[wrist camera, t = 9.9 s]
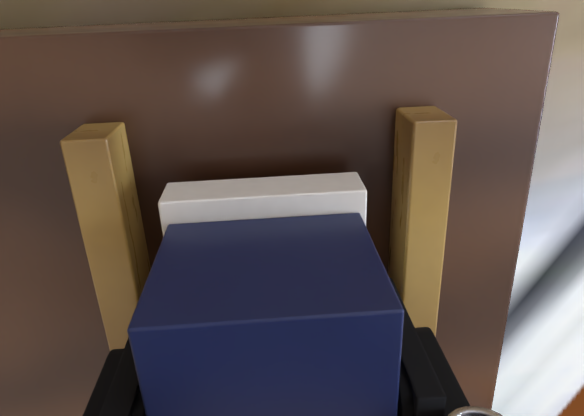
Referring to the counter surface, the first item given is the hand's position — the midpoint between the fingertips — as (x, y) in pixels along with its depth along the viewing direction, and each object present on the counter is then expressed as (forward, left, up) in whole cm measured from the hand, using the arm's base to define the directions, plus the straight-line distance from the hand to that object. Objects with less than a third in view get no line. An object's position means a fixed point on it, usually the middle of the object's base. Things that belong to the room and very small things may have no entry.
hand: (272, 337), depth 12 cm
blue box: (+2, 0, -1) cm, 2 cm away
